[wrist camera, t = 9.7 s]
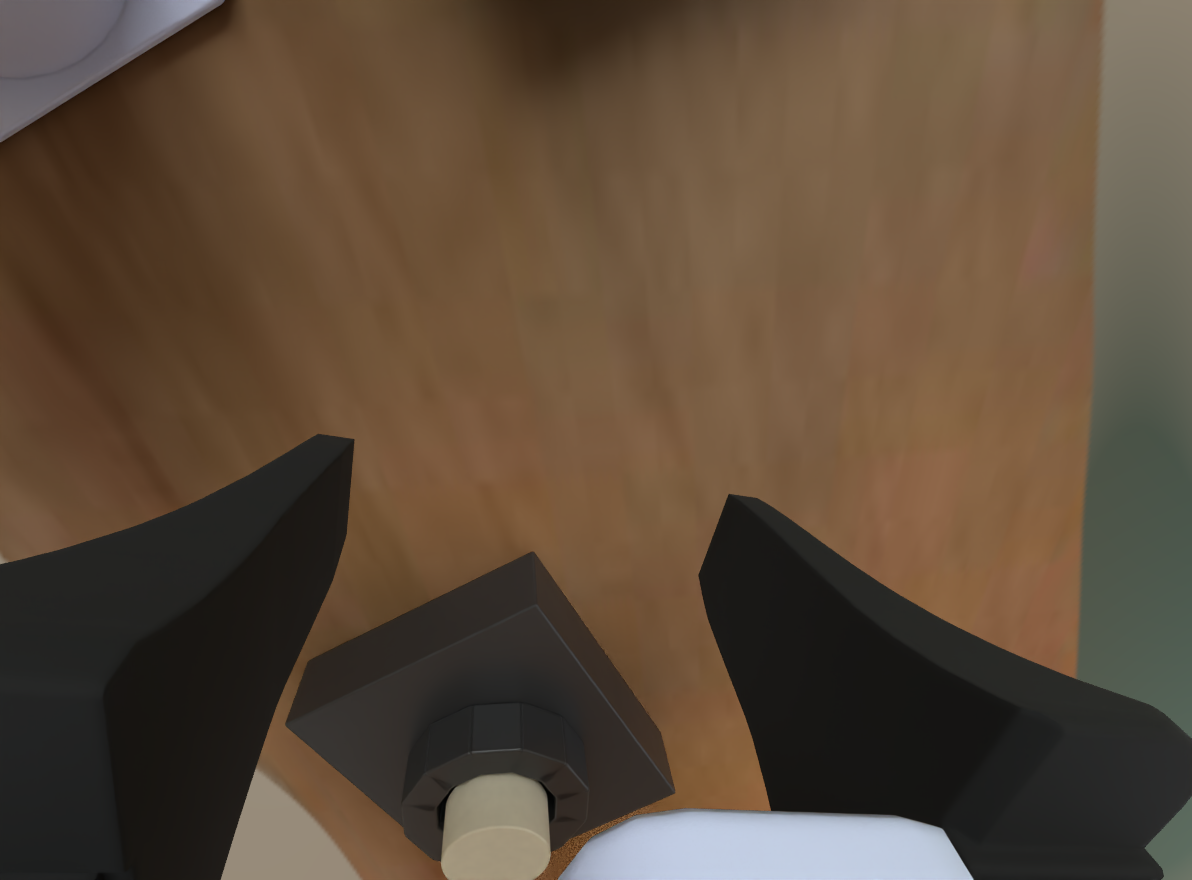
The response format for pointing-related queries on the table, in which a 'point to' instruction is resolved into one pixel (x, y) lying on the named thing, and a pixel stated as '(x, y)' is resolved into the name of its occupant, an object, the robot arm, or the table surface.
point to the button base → (483, 709)
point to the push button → (496, 829)
